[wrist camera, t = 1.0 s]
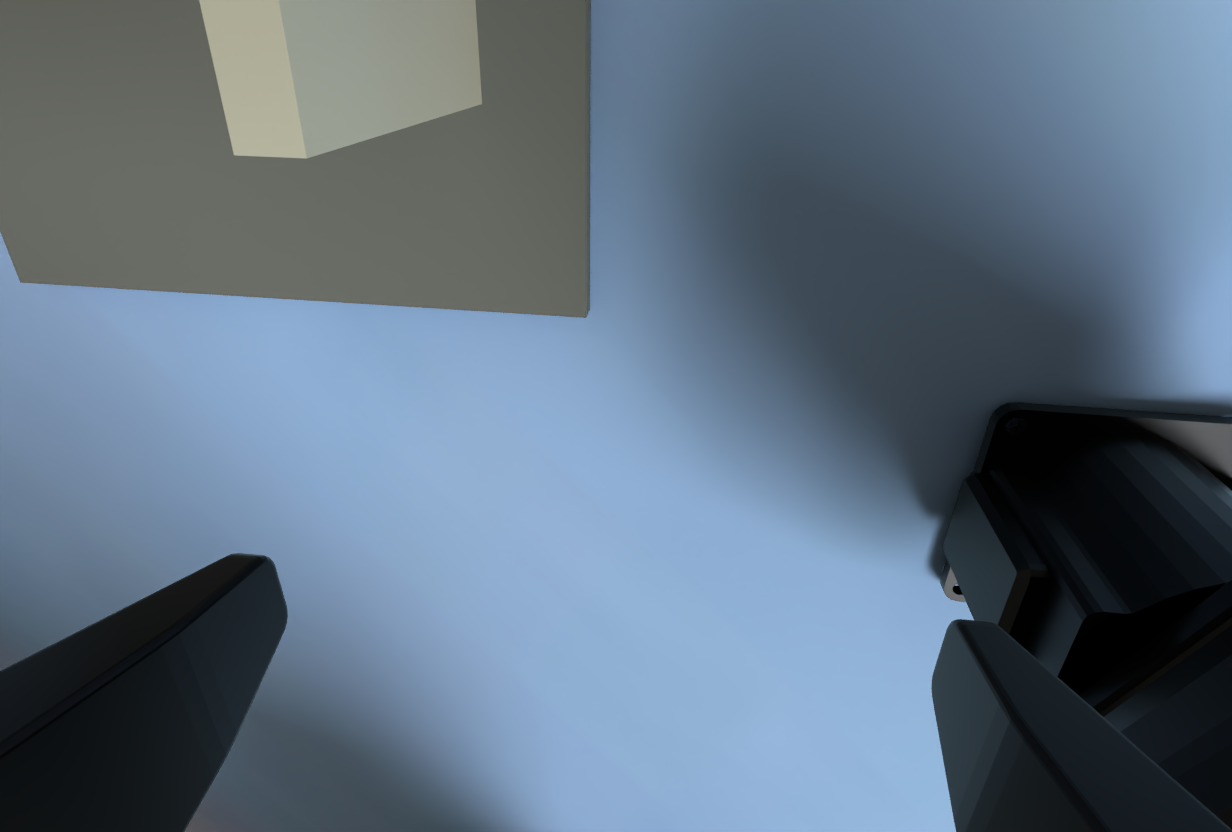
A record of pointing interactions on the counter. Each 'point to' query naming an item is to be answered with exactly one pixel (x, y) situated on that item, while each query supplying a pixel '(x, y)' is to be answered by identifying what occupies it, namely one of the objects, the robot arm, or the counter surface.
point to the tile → (338, 69)
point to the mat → (292, 170)
